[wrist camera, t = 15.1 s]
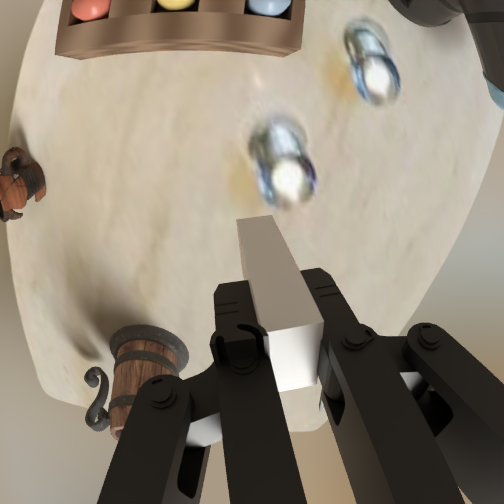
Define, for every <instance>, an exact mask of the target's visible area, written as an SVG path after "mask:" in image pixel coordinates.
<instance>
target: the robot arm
mask: <svg viewBox="0 0 504 504" xmlns="http://www.w3.org/2000/svg"><path fill="white" fill-rule="evenodd" d="M389 2H390V3H391V4H392V5H393V6H394V8H395V9H396V10H397V11H398V12H399V13H401V14H402V15H403V16H404V17H405V18H407V19H408V20H410V21H412V22H413V23H415V24H418V25H420V26H424V27H436V26H442V25H445V24H447V23H448V22H449V21H450V20H451V19H452V18H454V17H456V16H458V15H459V14H461V13H464V14H465V17H466V19H467V22H468V25H469V27H470V30H471V33H472V36H473V39H474V42H475V45H476V48H477V51H478V54H479V58H480V61H481V65H482V68H483V76H484V78H485V80H486V82H487V85H488V89H489V93H490V96H491V98H492V100H493V101H494V102H495V103H496V104H497V106H498V107H500V108H501V109H502V110H504V0H389ZM236 221H237V229H238V238H239V246H240V254H241V263H242V271H243V277H244V280H243V281H237V282H230V283H223V284H219V285H218V287H217V289H216V291H215V293H214V310H215V326H216V331H215V332H214V333H213V335H212V336H211V340H210V348H211V352H212V355H213V359H214V362H213V363H212V365H211V366H210V367H209V368H208V369H206V370H205V371H204V372H202V373H200V374H198V375H195V376H193V377H190V378H188V379H185V380H182V379H181V378H179V377H177V376H174V375H171V374H162V375H157V376H154V377H152V378H150V379H148V380H147V381H146V382H144V383H143V384H142V386H141V387H140V389H139V390H138V392H137V394H136V397H135V399H134V402H133V404H132V407H131V409H130V412H129V415H128V417H127V420H126V422H125V425H124V428H123V430H122V433H121V436H120V438H119V441H118V444H117V447H116V449H115V452H114V455H113V458H112V461H111V463H110V466H109V469H108V472H107V475H106V478H105V481H104V484H103V487H102V490H101V493H100V496H99V499H98V502H97V504H199V502H200V498H201V492H202V488H203V482H204V477H205V472H206V467H207V462H208V457H209V452H210V447H211V444H213V443H215V442H218V441H220V440H223V449H224V457H225V466H226V474H227V482H228V489H229V497H230V504H307V501H306V497H305V493H304V490H303V486H302V482H301V478H300V474H299V470H298V466H297V462H296V459H295V455H294V451H293V447H292V443H291V439H290V435H289V431H288V427H287V423H286V419H285V415H284V411H283V407H282V403H281V399H280V395H279V392H282V391H287V390H292V389H297V388H302V387H306V386H311V385H315V384H317V378H318V376H319V379H320V382H321V385H322V391H321V397H320V402H319V411H323V408H324V407H325V410H326V413H327V416H328V419H329V422H330V425H331V427H332V430H333V433H334V436H335V439H336V442H337V445H338V448H339V451H340V454H341V457H342V460H343V463H344V466H345V469H346V472H347V475H348V478H349V481H350V484H351V487H352V490H353V493H354V497H355V500H356V503H357V504H465V502H464V500H463V498H462V495H461V493H460V490H459V488H460V489H461V490H462V491H463V493H464V494H465V495H466V496H467V497H468V499H469V500H470V501H471V502H472V504H504V384H503V383H502V382H500V380H499V379H498V378H496V377H495V376H494V375H493V374H492V373H491V372H490V371H489V370H488V369H487V368H486V367H485V366H484V365H483V364H482V363H480V362H479V361H478V360H477V359H476V358H475V357H474V356H473V355H472V354H471V353H469V352H468V351H467V350H466V349H465V348H464V347H463V346H462V345H460V344H459V343H458V342H457V341H456V340H455V339H454V338H453V337H452V336H450V335H449V334H448V333H447V332H446V331H445V330H444V329H442V328H440V327H439V326H437V325H435V324H431V323H419V324H416V325H414V326H413V327H411V328H410V330H409V331H408V334H407V336H380V335H377V333H376V332H375V331H374V330H373V329H372V328H370V327H368V326H366V325H364V324H360V323H359V322H358V320H357V318H356V316H355V315H354V313H353V311H352V310H351V308H350V306H349V305H348V303H347V301H346V300H345V298H344V296H343V295H342V294H341V291H340V290H339V288H338V287H337V286H336V283H335V282H334V280H333V278H332V277H331V275H330V274H328V273H327V272H325V271H324V270H323V269H321V268H314V269H308V270H302V271H300V270H299V268H298V266H297V264H296V262H295V260H294V258H293V256H292V254H291V252H290V250H289V248H288V246H287V244H286V242H285V240H284V238H283V236H282V234H281V232H280V230H279V229H278V227H277V225H276V223H275V221H274V219H273V217H272V215H269V216H261V217H253V218H246V219H239V220H236ZM458 487H459V488H458Z"/></svg>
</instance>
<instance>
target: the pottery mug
mask: <svg viewBox="0 0 504 504" xmlns="http://www.w3.org/2000/svg"><path fill="white" fill-rule="evenodd" d="M14 157H17V159H16V160H13V161H12V159H13V158H14ZM11 161H12V162H11ZM0 173H1V174H0V219H1V220H2V221H3V222H6V221H8V220H9V219H11V220H14V219H18V218H21V217H22V216H23V213H17V212H15V211H14V210H13V209H22V208H23V207H24V206H25V205H26V202H27V200H29V199H30V198H31V197H32V196H33V195H34V194H35V201H36V202H38V201H40V200H41V199H42V198H43V197H44V196H45V195H46V185H45V180H44V176H43V172H42V170H41V168H40V167H39V165H38V164H37V163H35V164H29V160H28V159H27V158H26V155H25V153H24V151H23V150H22V149H20V148H17V147H12V148H11V149H9V150H8V151H7V152H6V153H5V155H4V156H3V159H2V168H1V169H0ZM14 174H18V175H19V176H18V177H17V178H16V179H14V177H13V175H14Z"/></svg>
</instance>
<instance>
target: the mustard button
mask: <svg viewBox="0 0 504 504" xmlns="http://www.w3.org/2000/svg"><path fill="white" fill-rule="evenodd" d="M157 1H158V3H159V5H160V6H161V8H162V9H164V10H165V11H168V12H182V11H185V10H187V9H189V8H190V7H192V6H193V5H194V3H195V2H196V0H157Z"/></svg>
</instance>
